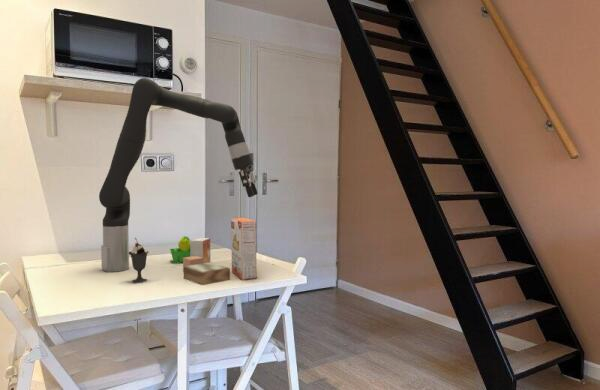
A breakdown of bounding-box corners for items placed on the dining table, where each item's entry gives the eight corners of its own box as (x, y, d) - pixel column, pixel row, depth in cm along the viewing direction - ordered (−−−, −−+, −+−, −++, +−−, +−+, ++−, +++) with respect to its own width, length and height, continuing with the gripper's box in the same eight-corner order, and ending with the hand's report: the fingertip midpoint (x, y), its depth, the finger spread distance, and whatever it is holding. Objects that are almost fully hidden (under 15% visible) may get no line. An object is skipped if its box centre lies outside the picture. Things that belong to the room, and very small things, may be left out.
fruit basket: (197, 258, 194) (196, 233, 193) (199, 262, 186) (198, 236, 185) (170, 260, 190) (169, 234, 190) (170, 264, 182) (170, 237, 181)
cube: (190, 274, 165) (190, 259, 164) (183, 272, 169) (183, 257, 169) (203, 272, 168) (203, 257, 168) (196, 269, 173) (195, 255, 172)
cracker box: (230, 272, 168) (230, 217, 167) (246, 270, 171) (245, 216, 169) (240, 280, 155) (240, 221, 154) (257, 278, 158) (256, 220, 157)
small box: (203, 266, 178) (202, 240, 177) (190, 266, 179) (189, 240, 178) (210, 262, 185) (210, 237, 185) (198, 262, 187) (198, 237, 186)
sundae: (133, 278, 158) (132, 236, 157) (152, 278, 158) (151, 236, 157) (125, 283, 151) (124, 239, 150) (145, 283, 151) (144, 239, 150)
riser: (202, 284, 149) (202, 272, 149) (183, 277, 159) (183, 266, 159) (229, 279, 157) (229, 267, 156) (210, 273, 166) (210, 261, 166)
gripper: (235, 159, 179) (247, 197, 180) (227, 158, 165) (240, 200, 166) (252, 153, 178) (265, 191, 179) (246, 152, 164) (259, 194, 165)
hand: (253, 195), depth 172 cm, fingers open, 8 cm apart
